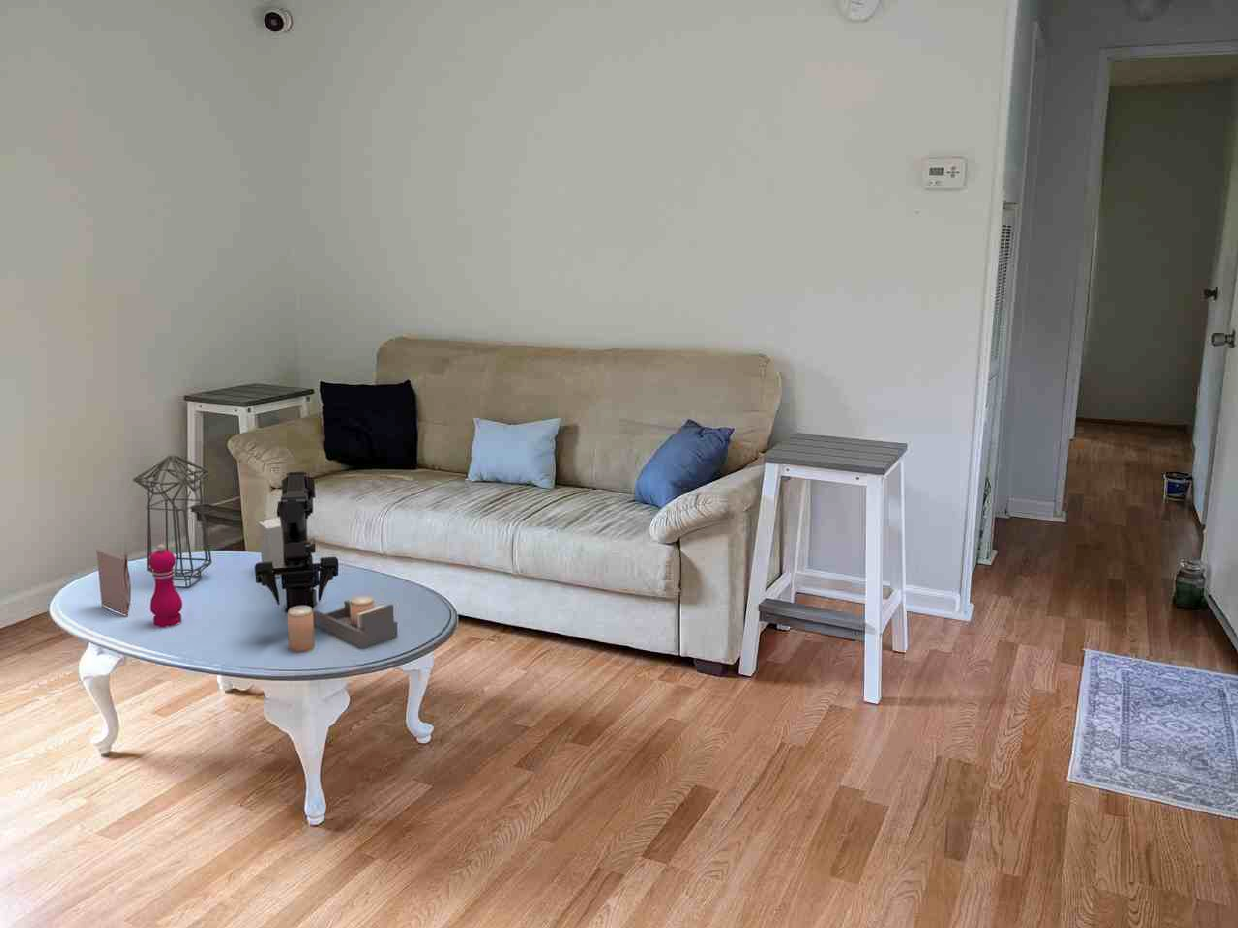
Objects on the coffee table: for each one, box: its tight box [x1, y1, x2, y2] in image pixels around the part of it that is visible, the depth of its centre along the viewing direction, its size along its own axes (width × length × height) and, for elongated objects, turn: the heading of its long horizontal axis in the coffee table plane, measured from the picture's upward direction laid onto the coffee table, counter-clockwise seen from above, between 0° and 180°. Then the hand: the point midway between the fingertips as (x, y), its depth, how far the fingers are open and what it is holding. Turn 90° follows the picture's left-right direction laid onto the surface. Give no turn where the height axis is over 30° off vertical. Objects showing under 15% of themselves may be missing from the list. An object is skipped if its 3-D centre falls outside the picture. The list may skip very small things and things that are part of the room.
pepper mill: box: [149, 544, 183, 628], centre depth 257 cm, size 7×7×20 cm
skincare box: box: [258, 517, 284, 579], centre depth 293 cm, size 8×6×15 cm
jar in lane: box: [350, 595, 376, 629], centre depth 252 cm, size 6×6×9 cm
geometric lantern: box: [132, 454, 214, 589], centre depth 283 cm, size 16×16×35 cm
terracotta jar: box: [287, 606, 316, 653], centre depth 244 cm, size 6×6×10 cm
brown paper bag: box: [95, 545, 132, 617], centre depth 265 cm, size 11×7×15 cm, turn 21°
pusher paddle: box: [357, 605, 385, 631], centre depth 249 cm, size 2×7×7 cm, turn 139°
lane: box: [312, 599, 398, 650], centre depth 254 cm, size 20×10×9 cm, turn 49°
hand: (299, 602), depth 246 cm, fingers open, 9 cm apart
